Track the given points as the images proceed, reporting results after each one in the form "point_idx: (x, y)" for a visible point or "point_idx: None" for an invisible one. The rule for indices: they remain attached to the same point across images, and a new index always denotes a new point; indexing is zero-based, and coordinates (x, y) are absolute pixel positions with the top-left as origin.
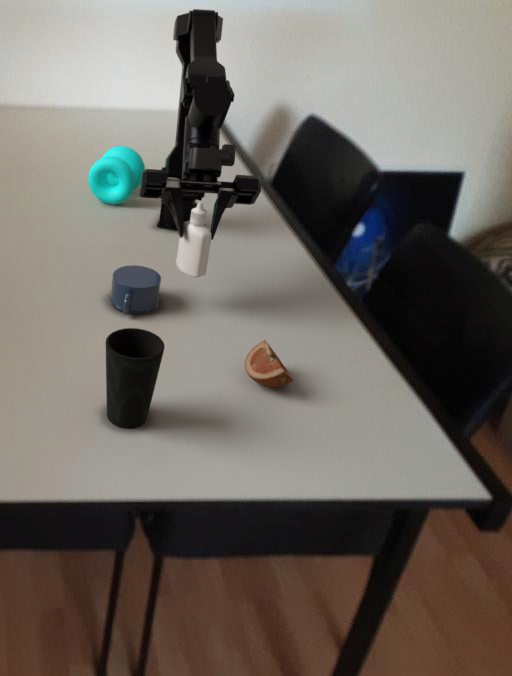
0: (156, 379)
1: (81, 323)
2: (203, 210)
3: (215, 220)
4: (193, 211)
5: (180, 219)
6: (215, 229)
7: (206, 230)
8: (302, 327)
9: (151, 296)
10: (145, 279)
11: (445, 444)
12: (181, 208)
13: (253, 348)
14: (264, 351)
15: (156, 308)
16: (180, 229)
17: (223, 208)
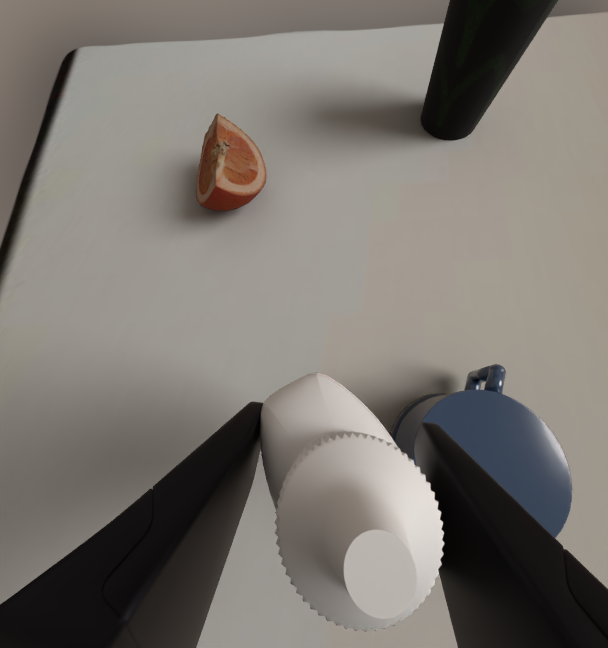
0: (443, 26)
1: (560, 354)
2: (320, 487)
3: (210, 469)
4: (427, 489)
5: (495, 498)
6: (230, 424)
7: (291, 407)
8: (98, 354)
9: (426, 403)
10: (462, 444)
11: (67, 101)
12: (565, 614)
13: (240, 194)
14: (226, 171)
15: (395, 421)
16: (454, 445)
17: (69, 567)
